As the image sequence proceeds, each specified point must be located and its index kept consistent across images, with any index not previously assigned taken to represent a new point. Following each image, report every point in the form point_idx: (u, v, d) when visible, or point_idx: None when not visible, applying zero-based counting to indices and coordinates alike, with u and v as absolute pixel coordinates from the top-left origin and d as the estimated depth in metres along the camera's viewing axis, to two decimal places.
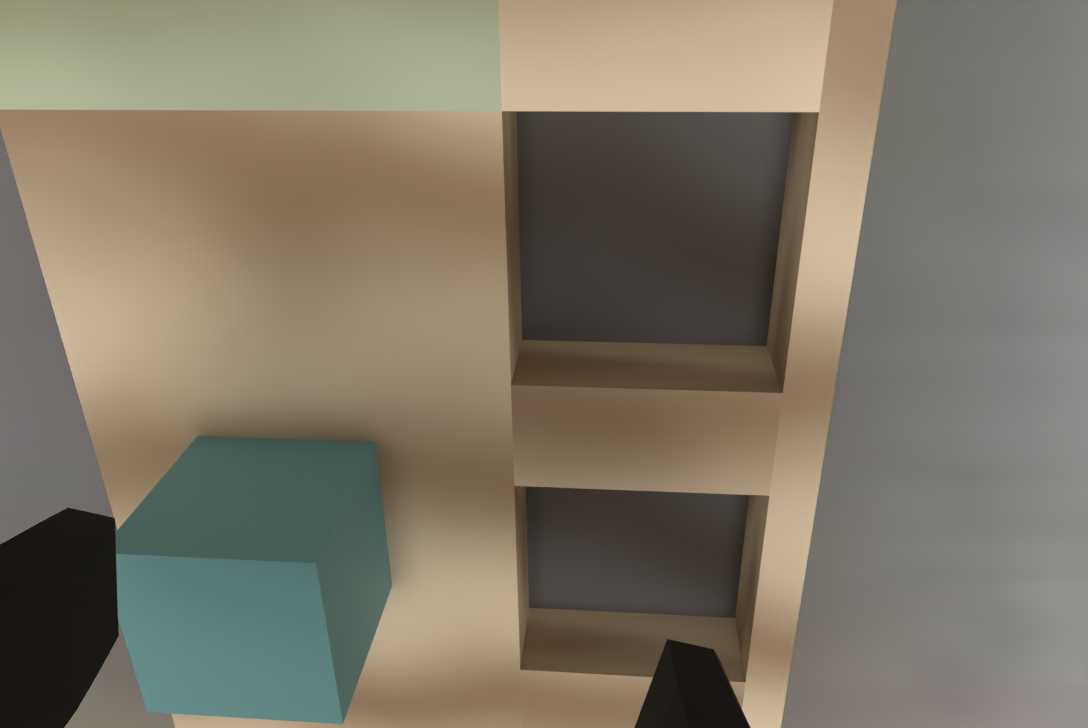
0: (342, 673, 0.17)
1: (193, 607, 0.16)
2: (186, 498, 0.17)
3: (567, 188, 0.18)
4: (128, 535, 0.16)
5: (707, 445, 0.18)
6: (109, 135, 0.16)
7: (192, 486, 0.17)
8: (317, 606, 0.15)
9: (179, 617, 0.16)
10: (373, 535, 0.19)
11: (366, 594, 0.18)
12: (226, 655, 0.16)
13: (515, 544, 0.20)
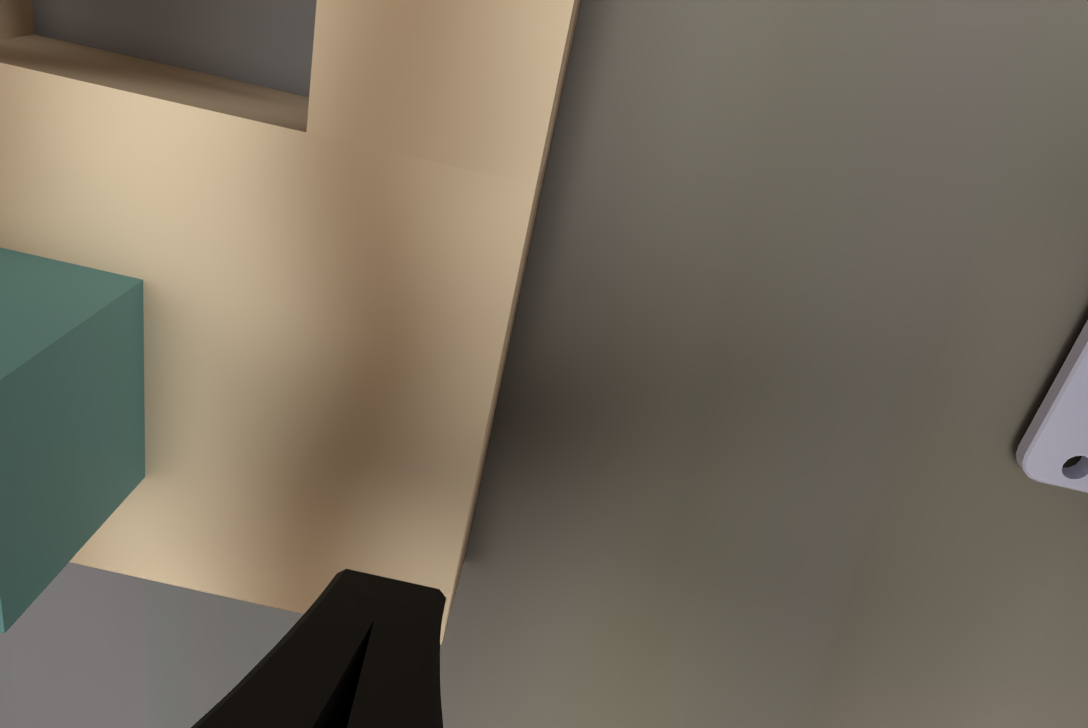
0: None
1: None
2: None
3: None
4: None
5: None
6: None
7: None
8: None
9: None
10: None
11: None
12: None
13: (52, 74, 0.13)
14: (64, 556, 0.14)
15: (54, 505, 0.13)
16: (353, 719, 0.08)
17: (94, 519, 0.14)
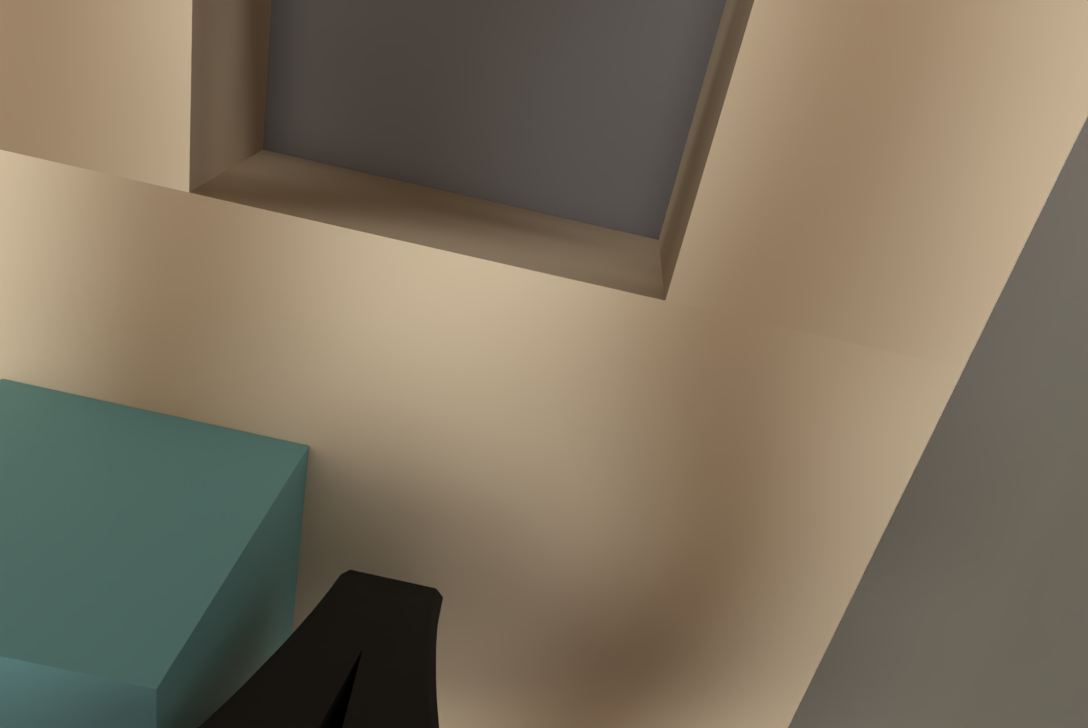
0: (71, 635, 0.08)
1: None
2: None
3: None
4: None
5: None
6: None
7: None
8: None
9: None
10: (107, 445, 0.10)
11: (138, 505, 0.09)
12: None
13: (332, 225, 0.10)
14: None
15: None
16: (349, 718, 0.08)
17: None
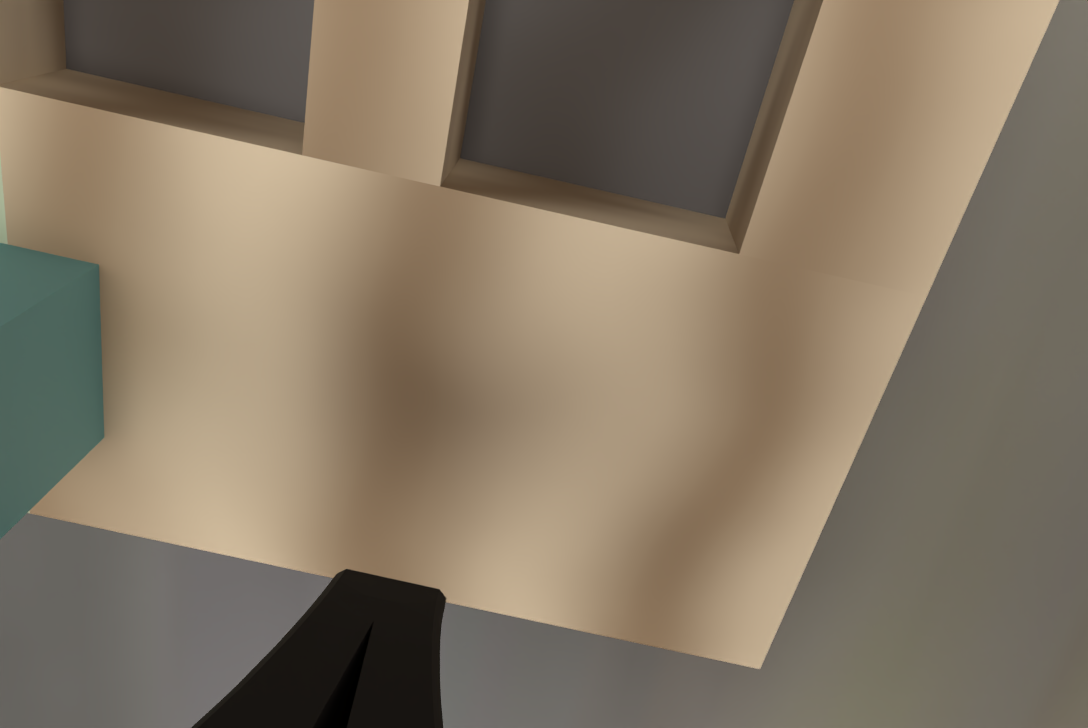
0: None
1: None
2: None
3: (164, 36, 0.17)
4: None
5: None
6: None
7: None
8: None
9: None
10: None
11: None
12: None
13: (529, 207, 0.15)
14: (31, 499, 0.16)
15: (22, 453, 0.15)
16: (353, 719, 0.08)
17: (58, 470, 0.17)
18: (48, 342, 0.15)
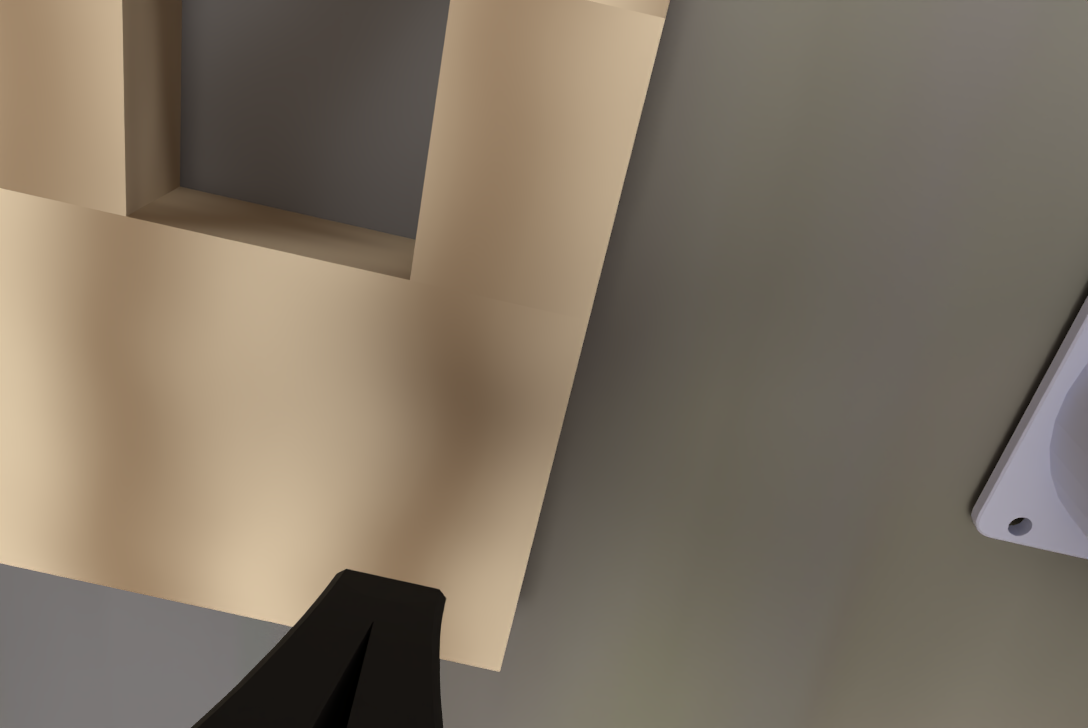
0: None
1: None
2: None
3: None
4: None
5: None
6: None
7: None
8: None
9: None
10: None
11: None
12: None
13: (211, 235, 0.16)
14: None
15: None
16: (353, 719, 0.08)
17: None
18: None
